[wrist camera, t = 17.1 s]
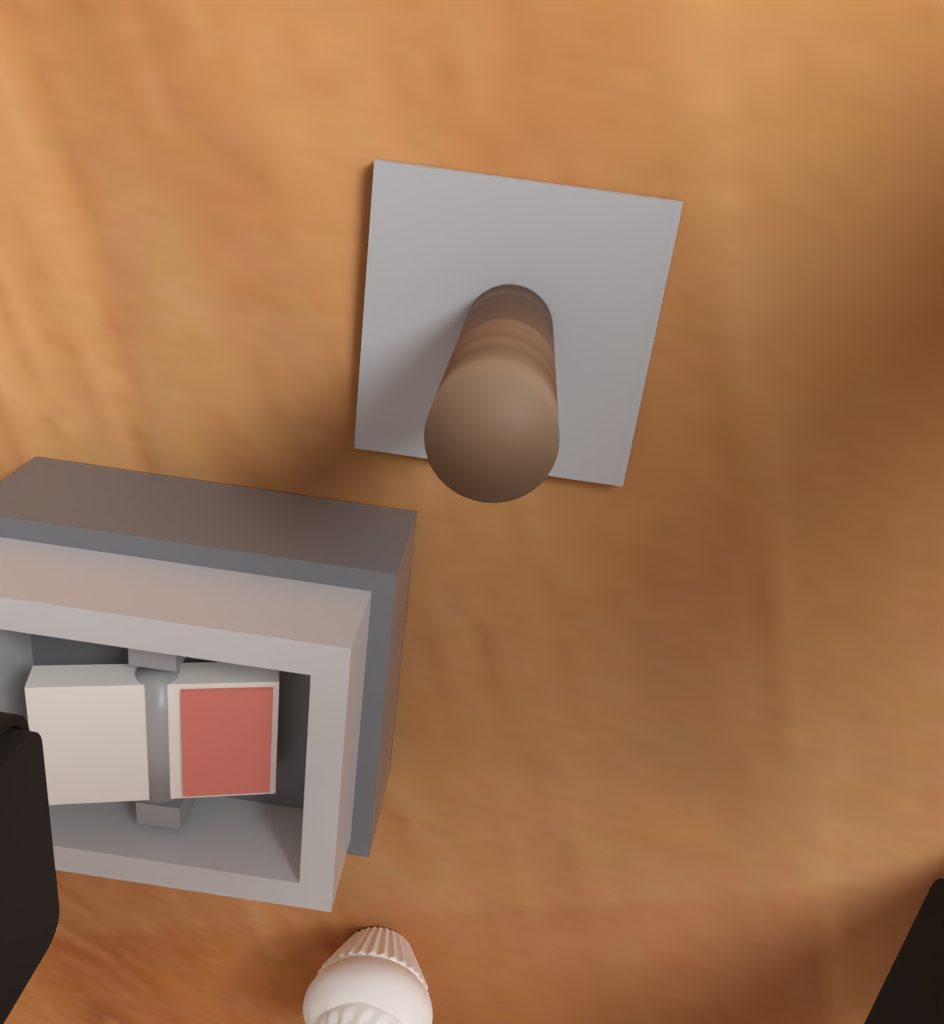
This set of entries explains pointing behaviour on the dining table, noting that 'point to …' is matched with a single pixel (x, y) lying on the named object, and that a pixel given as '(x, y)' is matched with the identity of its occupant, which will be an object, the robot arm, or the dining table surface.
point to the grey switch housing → (216, 658)
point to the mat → (521, 261)
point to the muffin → (369, 983)
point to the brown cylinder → (497, 400)
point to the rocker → (154, 731)
